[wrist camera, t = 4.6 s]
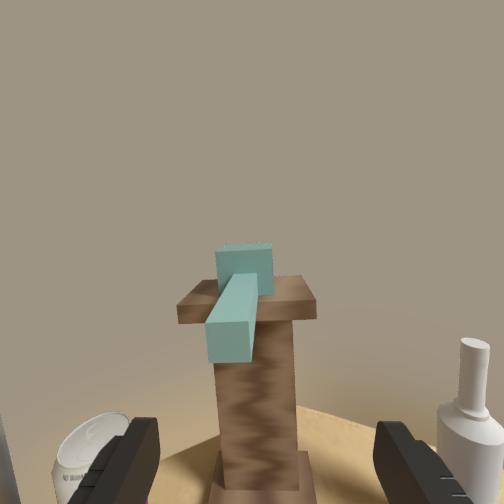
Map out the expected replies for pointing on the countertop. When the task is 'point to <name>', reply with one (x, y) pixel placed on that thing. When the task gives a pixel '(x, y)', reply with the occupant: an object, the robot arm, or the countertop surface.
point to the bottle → (472, 429)
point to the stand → (259, 401)
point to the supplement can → (84, 451)
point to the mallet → (238, 300)
